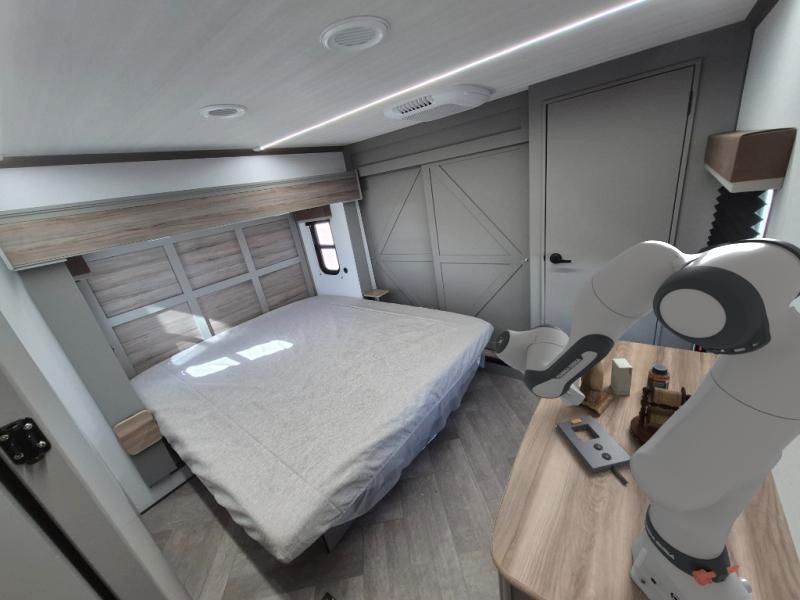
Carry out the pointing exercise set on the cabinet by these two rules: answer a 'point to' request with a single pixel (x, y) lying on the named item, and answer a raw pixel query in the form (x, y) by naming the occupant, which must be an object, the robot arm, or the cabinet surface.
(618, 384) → the skincare box
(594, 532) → the cabinet surface
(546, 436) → the cabinet surface
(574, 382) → the charger plug
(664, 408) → the brown thread spool stand
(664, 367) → the supplement bottle
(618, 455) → the power strip
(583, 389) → the bird sculpture
